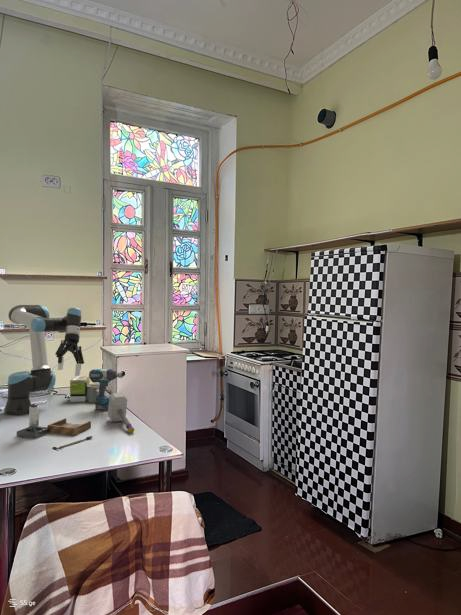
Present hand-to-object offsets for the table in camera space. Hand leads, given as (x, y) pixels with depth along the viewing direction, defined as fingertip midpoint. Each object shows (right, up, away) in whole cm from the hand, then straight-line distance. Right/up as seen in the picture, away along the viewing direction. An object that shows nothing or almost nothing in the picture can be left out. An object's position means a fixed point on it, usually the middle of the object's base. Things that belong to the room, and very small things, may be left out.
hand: (69, 372), depth 231 cm
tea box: (-16, -28, +65) cm, 72 cm away
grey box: (-5, -28, +60) cm, 67 cm away
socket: (-13, -29, -13) cm, 34 cm away
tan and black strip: (+13, -30, -26) cm, 42 cm away
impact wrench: (+8, -29, +40) cm, 50 cm away
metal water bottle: (-13, -29, -13) cm, 34 cm away
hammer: (+27, -30, +5) cm, 41 cm away
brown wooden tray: (+2, -29, -5) cm, 30 cm away
